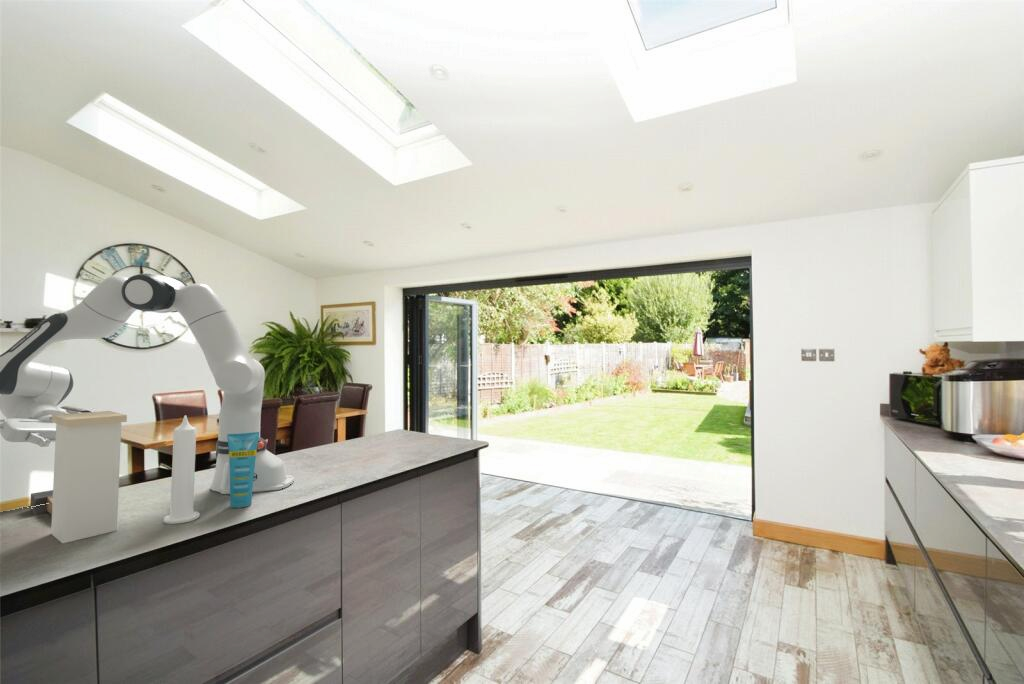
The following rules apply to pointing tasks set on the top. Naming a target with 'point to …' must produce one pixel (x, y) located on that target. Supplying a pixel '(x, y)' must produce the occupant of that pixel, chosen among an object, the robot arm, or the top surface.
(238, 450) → the tube
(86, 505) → the shelf post
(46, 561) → the top surface
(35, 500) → the mallet
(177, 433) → the candle
